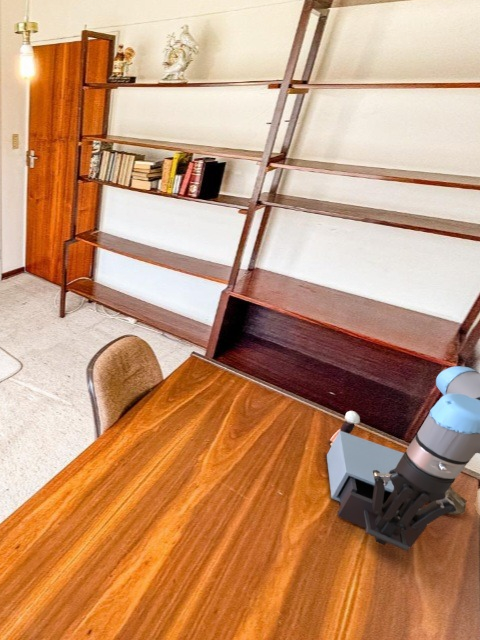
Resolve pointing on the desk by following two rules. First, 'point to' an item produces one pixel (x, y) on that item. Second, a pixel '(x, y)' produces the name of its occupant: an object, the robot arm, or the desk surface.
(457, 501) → the fossilized seashell
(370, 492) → the drawer
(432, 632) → the desk surface
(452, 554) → the desk surface
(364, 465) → the cabinet
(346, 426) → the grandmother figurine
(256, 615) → the desk surface
